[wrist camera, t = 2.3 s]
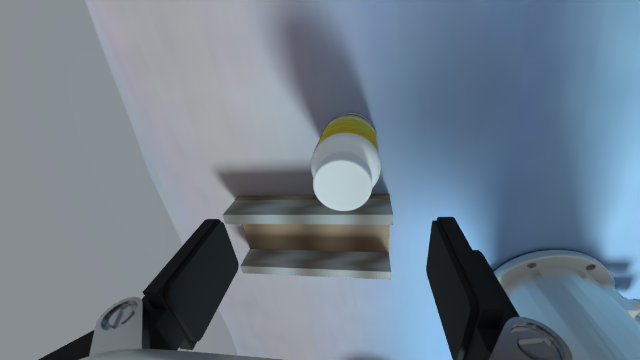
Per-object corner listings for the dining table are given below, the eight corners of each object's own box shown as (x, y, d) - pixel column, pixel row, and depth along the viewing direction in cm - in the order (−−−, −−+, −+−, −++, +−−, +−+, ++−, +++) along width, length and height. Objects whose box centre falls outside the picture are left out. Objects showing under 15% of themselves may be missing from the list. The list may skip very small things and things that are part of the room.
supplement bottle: (317, 117, 24) (293, 155, 16) (373, 107, 23) (380, 141, 15) (328, 166, 27) (312, 222, 18) (379, 159, 25) (388, 216, 17)
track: (389, 194, 27) (392, 214, 24) (387, 255, 31) (390, 279, 28) (237, 196, 30) (222, 214, 27) (254, 251, 34) (243, 273, 31)
